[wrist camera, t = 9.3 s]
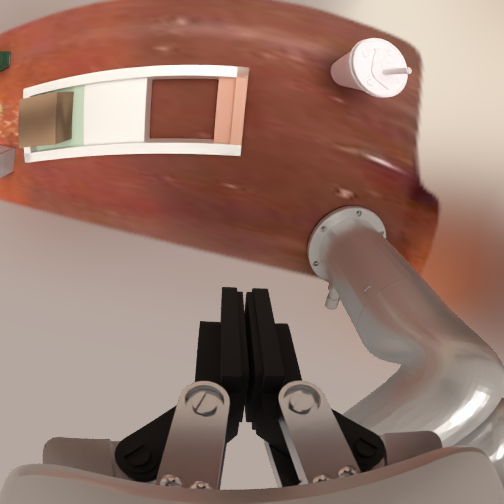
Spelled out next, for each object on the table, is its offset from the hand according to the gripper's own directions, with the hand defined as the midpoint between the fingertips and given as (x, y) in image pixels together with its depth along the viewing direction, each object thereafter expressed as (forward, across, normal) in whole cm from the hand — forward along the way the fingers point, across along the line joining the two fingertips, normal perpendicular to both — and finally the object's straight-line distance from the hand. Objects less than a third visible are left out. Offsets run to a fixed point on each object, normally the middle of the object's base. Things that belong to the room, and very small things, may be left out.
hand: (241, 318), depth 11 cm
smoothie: (+27, -12, -14) cm, 33 cm away
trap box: (+26, +14, -7) cm, 31 cm away
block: (+24, +23, -7) cm, 34 cm away
